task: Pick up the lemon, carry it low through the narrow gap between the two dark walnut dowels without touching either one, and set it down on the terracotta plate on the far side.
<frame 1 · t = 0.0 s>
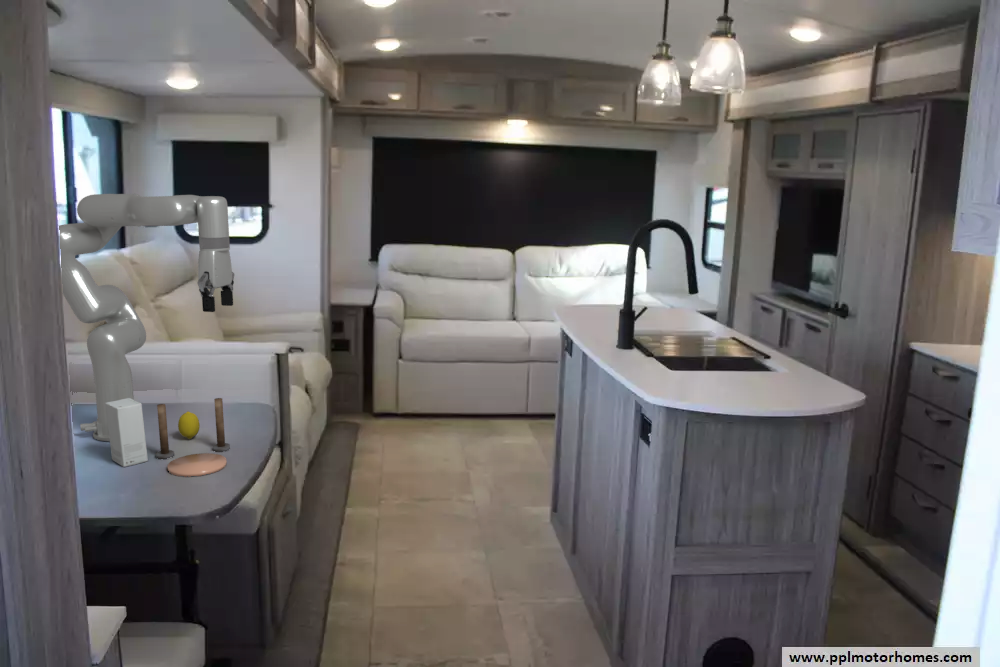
hand: (218, 308, 218), 37 cm above the table, tool pointing down, fingers open, 9 cm apart
skincare box: (128, 461, 211), on the table
right dowel: (221, 449, 220), on the table
plate: (197, 466, 207), on the table
lemon: (189, 439, 228), on the table
left dowel: (165, 456, 214), on the table
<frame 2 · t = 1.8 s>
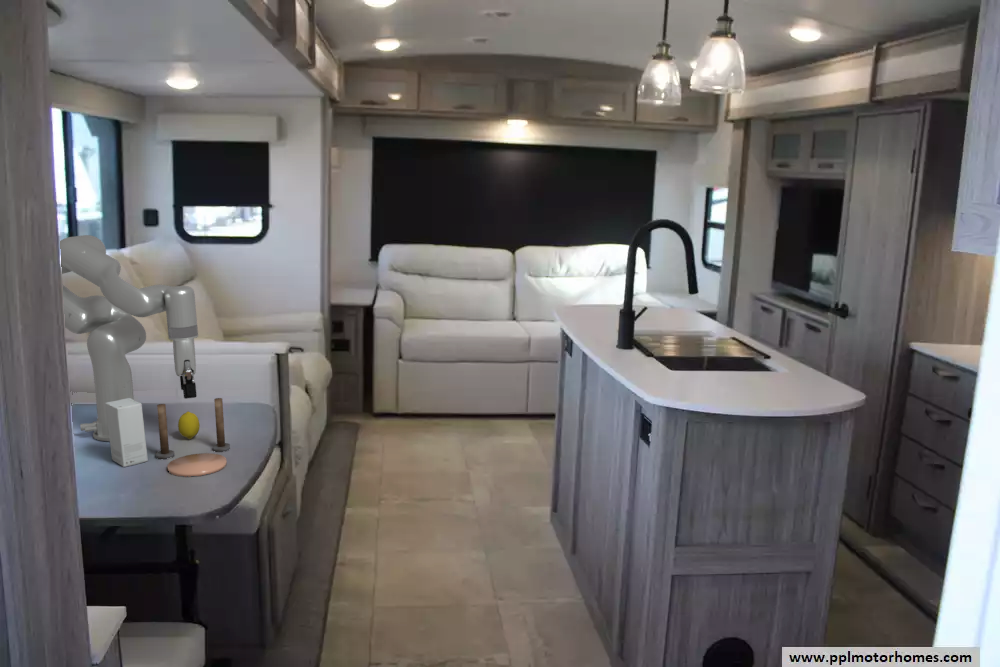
hand: (188, 393, 225), 13 cm above the table, tool pointing down, fingers open, 9 cm apart
nothing on the table moved.
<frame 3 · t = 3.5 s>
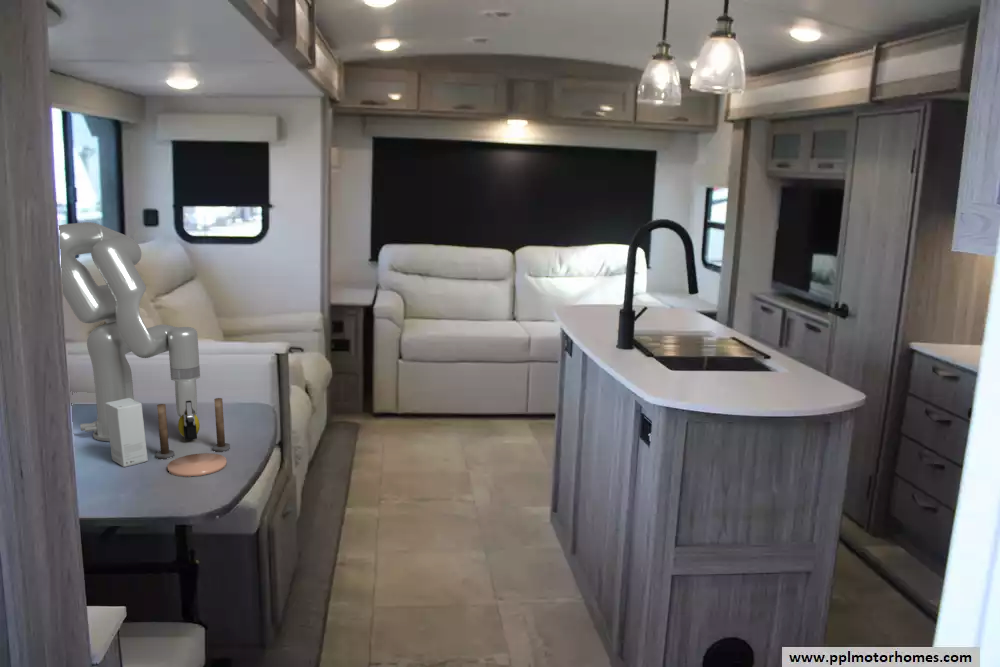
hand: (189, 435, 227), 1 cm above the table, tool pointing down, fingers closed on lemon, 5 cm apart
lemon: (189, 439, 228), on the table, touching gripper
everything else where it was.
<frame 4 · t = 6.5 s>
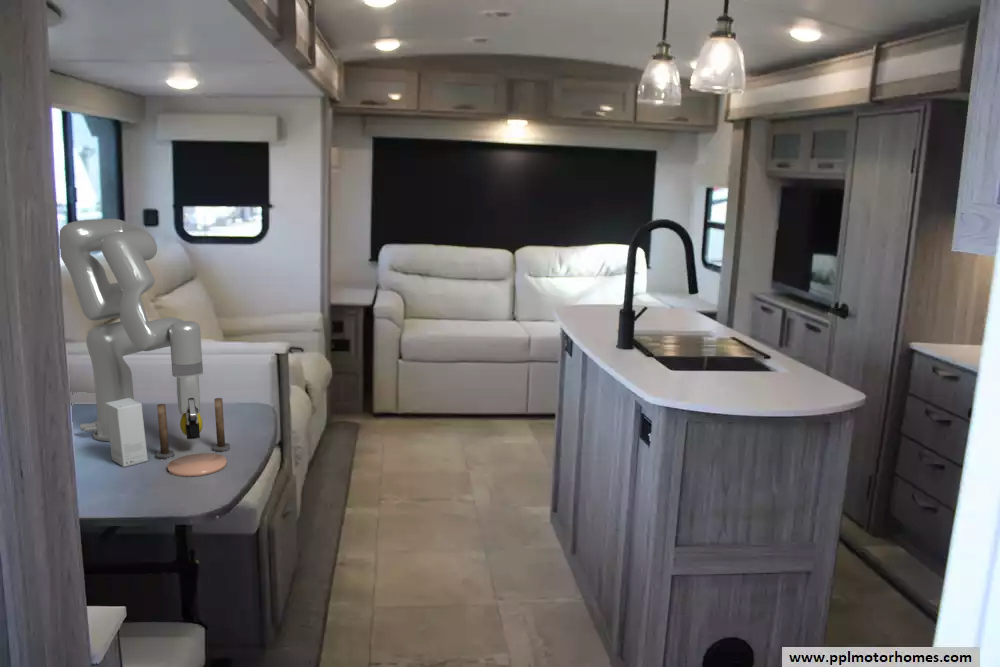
hand: (192, 434, 218), 5 cm above the table, tool pointing down, fingers closed on lemon, 5 cm apart
lemon: (192, 439, 218), point 3 cm above the table, touching gripper
everything else where it was.
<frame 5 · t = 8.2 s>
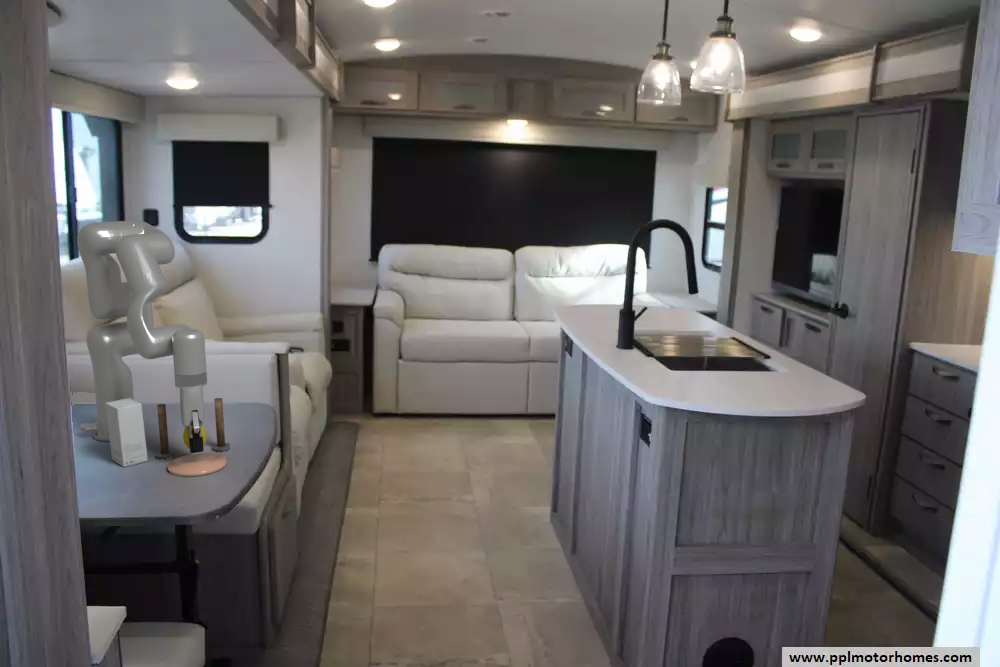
hand: (195, 447, 208), 4 cm above the table, tool pointing down, fingers closed on lemon, 5 cm apart
lemon: (195, 452, 208), point 3 cm above the table, touching gripper
everything else where it was.
when the fingers open (3 cm above the table, at t = 9.7 s): lemon stays where it is, resting on plate.
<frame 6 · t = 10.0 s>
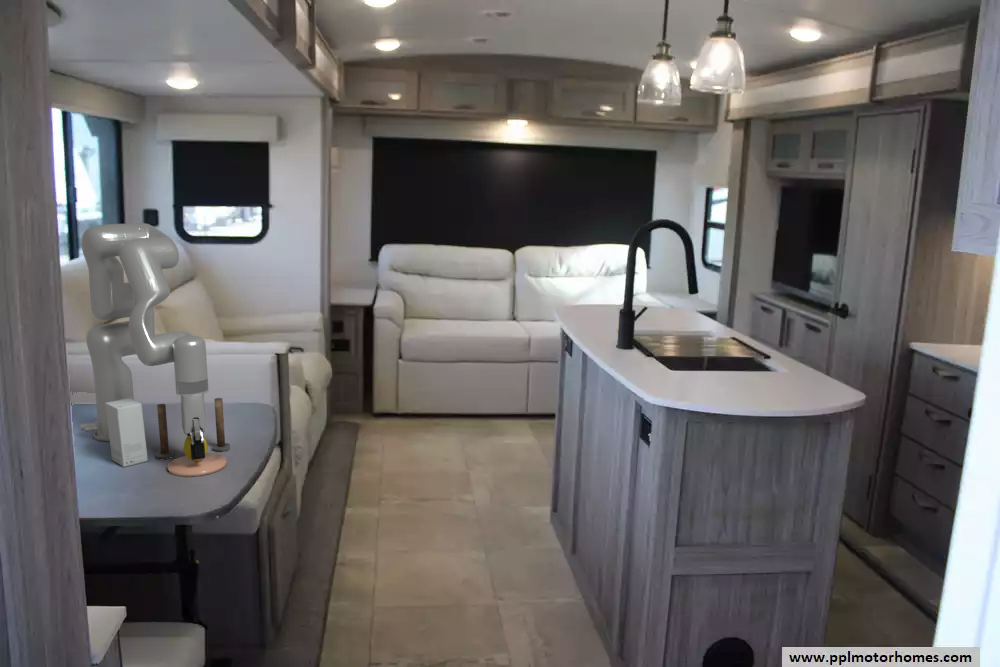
hand: (196, 452, 207), 4 cm above the table, tool pointing down, fingers open, 8 cm apart
lemon: (196, 463, 207), point 1 cm above the table, touching plate
everything else where it was.
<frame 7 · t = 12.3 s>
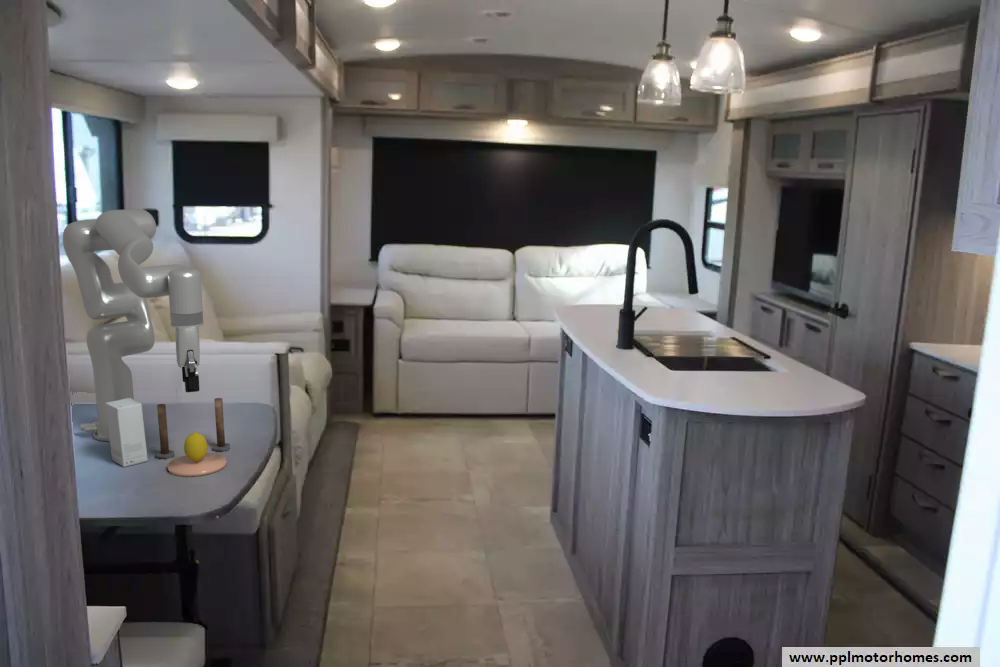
hand: (190, 386, 205), 21 cm above the table, tool pointing down, fingers open, 9 cm apart
nothing on the table moved.
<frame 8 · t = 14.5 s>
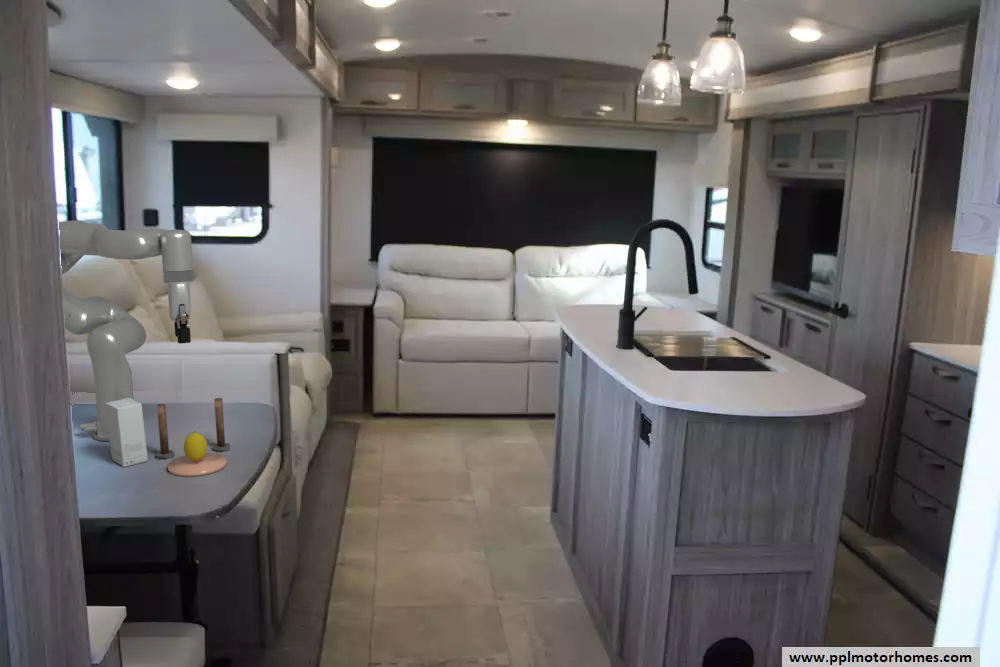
hand: (182, 339, 222), 28 cm above the table, tool pointing down, fingers open, 9 cm apart
nothing on the table moved.
at the end: lemon inside the target area on the plate (0.3 cm from its centre), point 0.8 cm above the plate's base; left dowel moved 0.0 cm from its start; right dowel moved 0.0 cm from its start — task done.
